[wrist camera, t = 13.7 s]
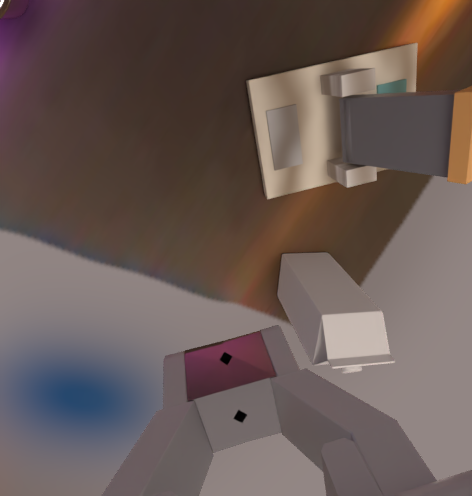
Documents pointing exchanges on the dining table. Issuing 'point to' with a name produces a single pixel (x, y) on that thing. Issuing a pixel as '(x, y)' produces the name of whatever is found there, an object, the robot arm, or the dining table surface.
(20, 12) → the cup with straw
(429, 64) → the dining table surface
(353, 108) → the rocker lever
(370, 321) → the milk carton
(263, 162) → the switch base
